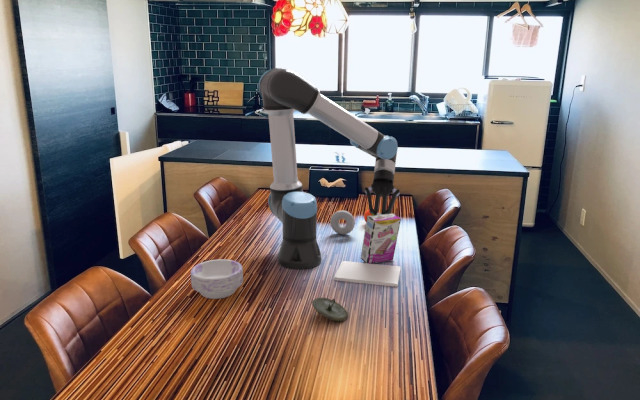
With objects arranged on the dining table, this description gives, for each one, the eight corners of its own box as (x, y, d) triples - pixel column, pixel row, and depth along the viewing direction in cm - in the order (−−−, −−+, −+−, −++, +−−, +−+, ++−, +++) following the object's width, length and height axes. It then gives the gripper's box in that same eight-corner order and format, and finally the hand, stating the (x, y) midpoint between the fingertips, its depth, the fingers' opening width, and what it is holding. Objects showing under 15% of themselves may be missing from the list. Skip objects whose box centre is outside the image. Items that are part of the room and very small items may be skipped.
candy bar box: (367, 265, 173) (374, 221, 167) (359, 258, 177) (366, 215, 171) (394, 260, 178) (401, 218, 172) (386, 254, 182) (393, 212, 176)
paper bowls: (188, 286, 156) (186, 262, 154) (236, 278, 162) (235, 255, 160) (196, 308, 143) (195, 282, 140) (249, 298, 148) (248, 273, 146)
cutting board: (342, 263, 175) (342, 260, 174) (400, 269, 170) (400, 266, 170) (334, 280, 162) (334, 277, 161) (397, 286, 157) (397, 283, 157)
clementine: (380, 228, 212) (381, 211, 210) (364, 227, 212) (364, 211, 210) (379, 222, 220) (379, 206, 218) (363, 221, 220) (363, 206, 218)
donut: (355, 234, 204) (356, 210, 202) (353, 236, 201) (354, 212, 199) (331, 231, 207) (331, 208, 204) (329, 234, 204) (329, 210, 201)
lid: (312, 306, 144) (312, 290, 143) (347, 307, 144) (347, 290, 143) (311, 325, 134) (311, 308, 133) (348, 325, 134) (349, 308, 133)
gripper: (401, 180, 190) (396, 237, 179) (367, 178, 193) (359, 233, 182) (401, 169, 184) (396, 227, 173) (366, 167, 187) (358, 224, 176)
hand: (377, 230), depth 177 cm, fingers closed
